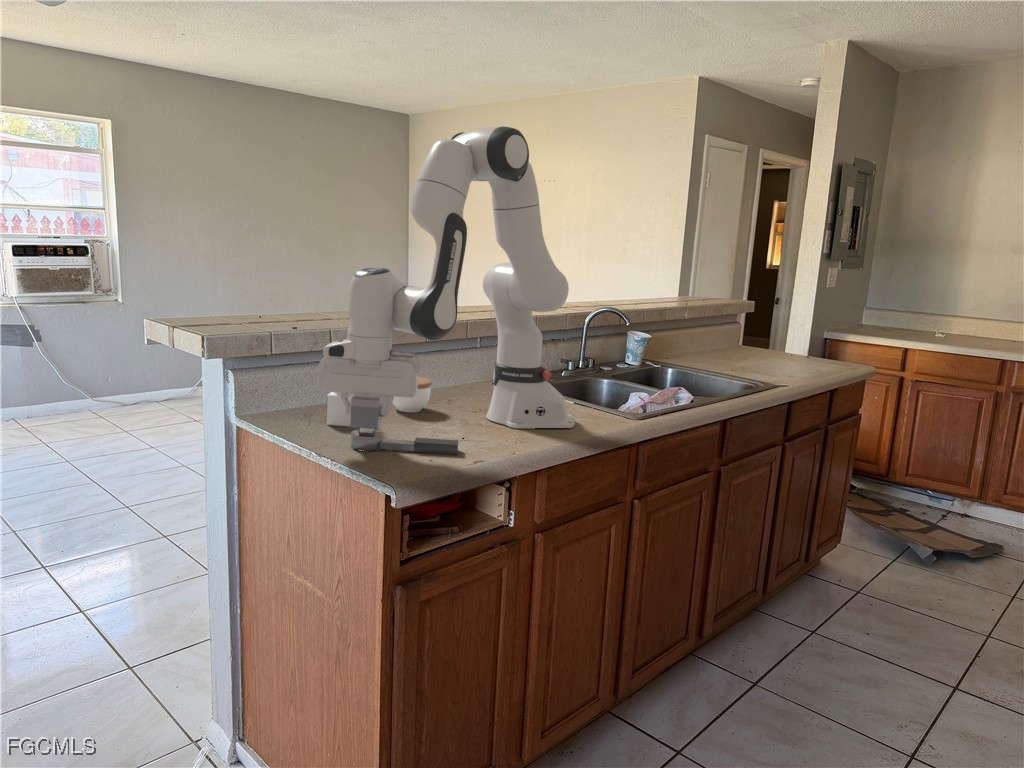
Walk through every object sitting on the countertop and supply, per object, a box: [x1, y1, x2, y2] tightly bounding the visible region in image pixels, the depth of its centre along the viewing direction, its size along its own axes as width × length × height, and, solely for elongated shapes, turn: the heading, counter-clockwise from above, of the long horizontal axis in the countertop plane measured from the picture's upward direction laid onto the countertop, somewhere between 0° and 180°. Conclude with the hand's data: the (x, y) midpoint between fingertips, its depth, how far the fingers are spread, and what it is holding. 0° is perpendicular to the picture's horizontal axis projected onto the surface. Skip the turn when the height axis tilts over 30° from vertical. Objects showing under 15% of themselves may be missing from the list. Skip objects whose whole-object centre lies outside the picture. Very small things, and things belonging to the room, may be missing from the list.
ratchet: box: [350, 428, 459, 456], centre depth 143 cm, size 22×6×7 cm, turn 92°
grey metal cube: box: [349, 394, 384, 430], centre depth 142 cm, size 6×6×6 cm
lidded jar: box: [391, 376, 433, 413], centre depth 176 cm, size 11×11×9 cm
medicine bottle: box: [325, 392, 355, 428], centre depth 159 cm, size 7×7×12 cm
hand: (366, 415), depth 142 cm, fingers closed on grey metal cube, 5 cm apart
